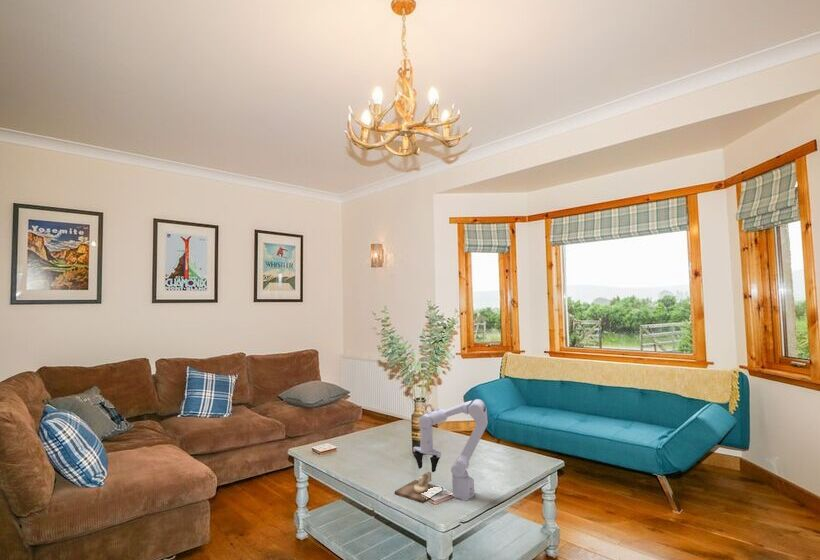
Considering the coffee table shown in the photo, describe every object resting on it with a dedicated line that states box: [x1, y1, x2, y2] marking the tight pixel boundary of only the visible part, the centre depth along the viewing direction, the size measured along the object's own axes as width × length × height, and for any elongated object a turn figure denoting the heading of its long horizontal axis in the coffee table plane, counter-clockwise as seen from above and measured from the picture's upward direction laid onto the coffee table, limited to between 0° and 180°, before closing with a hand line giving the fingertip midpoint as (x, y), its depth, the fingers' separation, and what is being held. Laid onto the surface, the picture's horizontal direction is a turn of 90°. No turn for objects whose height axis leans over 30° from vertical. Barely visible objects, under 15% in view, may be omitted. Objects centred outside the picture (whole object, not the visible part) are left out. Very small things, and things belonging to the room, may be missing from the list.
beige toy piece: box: [414, 471, 432, 494], centre depth 207 cm, size 11×6×6 cm, turn 146°
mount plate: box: [394, 479, 444, 504], centre depth 207 cm, size 16×16×1 cm
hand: (427, 469), depth 210 cm, fingers open, 7 cm apart
